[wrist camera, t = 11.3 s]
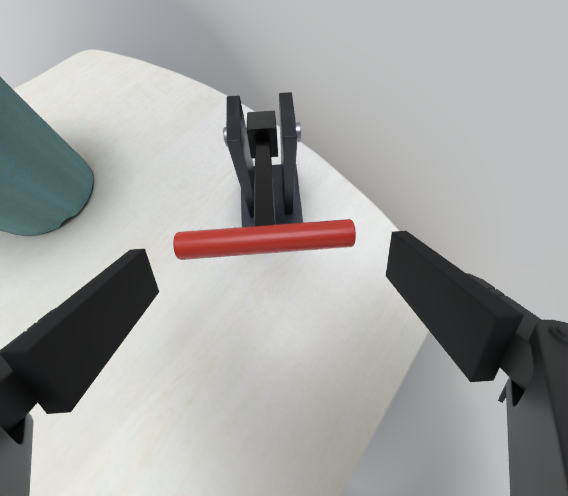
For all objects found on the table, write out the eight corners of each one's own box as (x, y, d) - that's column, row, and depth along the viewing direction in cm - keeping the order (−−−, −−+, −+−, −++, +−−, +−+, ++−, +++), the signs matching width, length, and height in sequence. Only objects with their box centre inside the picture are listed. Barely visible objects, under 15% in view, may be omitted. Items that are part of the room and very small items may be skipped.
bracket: (303, 240, 28) (316, 168, 16) (243, 244, 28) (210, 175, 16) (295, 169, 31) (301, 66, 19) (242, 172, 31) (214, 71, 19)
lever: (350, 257, 13) (360, 227, 11) (184, 270, 13) (166, 242, 11) (314, 136, 21) (317, 107, 19) (212, 143, 21) (204, 115, 19)
